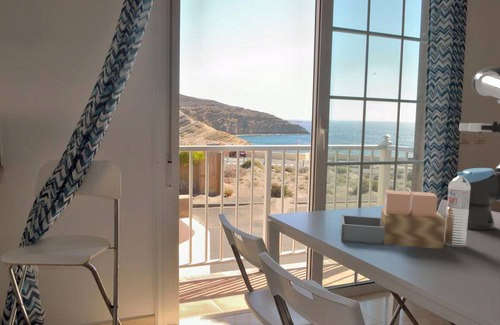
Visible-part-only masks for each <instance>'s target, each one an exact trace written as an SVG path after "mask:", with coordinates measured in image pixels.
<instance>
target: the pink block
mask: <svg viewBox="0 0 500 325" xmlns="http://www.w3.org/2000/svg"><path fill="white" fill-rule="evenodd" d="M410 196H411V195H410V192H409V191H407V190H391V189H385V190H384V199H383V200H384V202H383V208H384V211H385V213H386V214H399V215H409V210H410Z"/></svg>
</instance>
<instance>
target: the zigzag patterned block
mask: <svg viewBox="0 0 500 325" xmlns="http://www.w3.org/2000/svg"><path fill="white" fill-rule="evenodd" d="M380 218H381V221H380V227H385V236H384V245H390V246H401V247H402V246H403V247H414V248H425V249H426V248H427V249H436V250H437V249H440V250H444V245H445V243H444V235H445V223H446V217H444V216H442V214H440V212H438V210H436V217H428V216H414V215H412V214H411V213H410V212H409V215H399V214H386V213H385V211H384V207H381V211H380Z"/></svg>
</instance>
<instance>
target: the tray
mask: <svg viewBox="0 0 500 325" xmlns="http://www.w3.org/2000/svg"><path fill="white" fill-rule="evenodd" d="M340 217H341V218H340V219H341V220H340V237H341V238H340V242H341V243H353V244H366V245H378V246H385V244H384V236H385V227H380V224H381V217H374V216H373V217H372V216H360V215H346V214H342V215H341V216H340Z"/></svg>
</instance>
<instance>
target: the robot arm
mask: <svg viewBox="0 0 500 325" xmlns="http://www.w3.org/2000/svg"><path fill="white" fill-rule="evenodd" d="M471 88H472V90H473V91H474V92H475V93H476V94H478V95H480V96H483V97H493V98H496V99H497V100H496V102H497V103H498V104H499V105H500V66H488V67H484V68H482V69H481V70H479V71H477V72H476V73H475V74H474V76H473V77H472V79H471ZM458 126H459V128H458V131H460V132H473V133H474V132H475V133H476V132H477V133H478V134H482V133H492V132H493V133H499V134H500V123H498V121H493V123H488V122H487V123H483V122H467V123H466V122H465V123H464V122H460V123H459V125H458ZM462 172H463V173H464V176H463V177H464V178H465V179H466V180H467V181H468V182H469V183H470V185H471V190H470V199H469V216H468V227H467V229H468V230H469V229H470V230H478V231H479V230H480V231H489V230H494V228H495V221H494V218H493V213H492V210H491V209H492V208H491V205H492V202H500V163H499V165H497V166H496V167H495V170H494V169H493V168H489V167H476V168H475V167H474V168H467V169H464V170H462Z"/></svg>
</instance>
